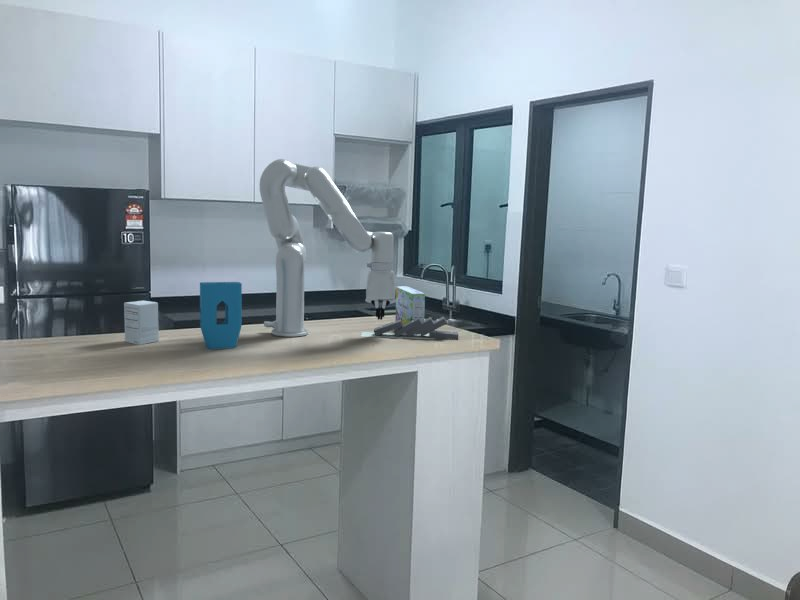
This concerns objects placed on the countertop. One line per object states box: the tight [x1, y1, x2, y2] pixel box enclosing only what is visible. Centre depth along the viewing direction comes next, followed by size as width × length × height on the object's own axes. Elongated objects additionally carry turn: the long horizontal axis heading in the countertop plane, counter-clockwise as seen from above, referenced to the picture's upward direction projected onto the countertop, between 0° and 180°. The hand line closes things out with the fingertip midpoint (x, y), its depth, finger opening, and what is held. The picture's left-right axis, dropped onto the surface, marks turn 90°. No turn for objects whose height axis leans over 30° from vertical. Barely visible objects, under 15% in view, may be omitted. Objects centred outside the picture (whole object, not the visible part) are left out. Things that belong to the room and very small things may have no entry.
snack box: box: [395, 285, 426, 325], centre depth 240 cm, size 21×6×15 cm, turn 17°
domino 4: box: [418, 316, 448, 336], centre depth 223 cm, size 2×5×10 cm
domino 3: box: [405, 316, 434, 337], centre depth 223 cm, size 2×5×10 cm
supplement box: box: [123, 300, 160, 346], centre depth 199 cm, size 7×7×13 cm
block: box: [199, 281, 243, 350], centre depth 195 cm, size 12×5×20 cm, turn 116°
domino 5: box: [428, 329, 459, 340], centre depth 223 cm, size 2×5×10 cm
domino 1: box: [373, 319, 403, 336], centre depth 223 cm, size 2×5×10 cm
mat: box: [360, 331, 436, 340], centre depth 223 cm, size 26×8×1 cm, turn 90°
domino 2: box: [393, 317, 422, 337], centre depth 223 cm, size 2×5×10 cm
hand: (379, 319), depth 222 cm, fingers closed
